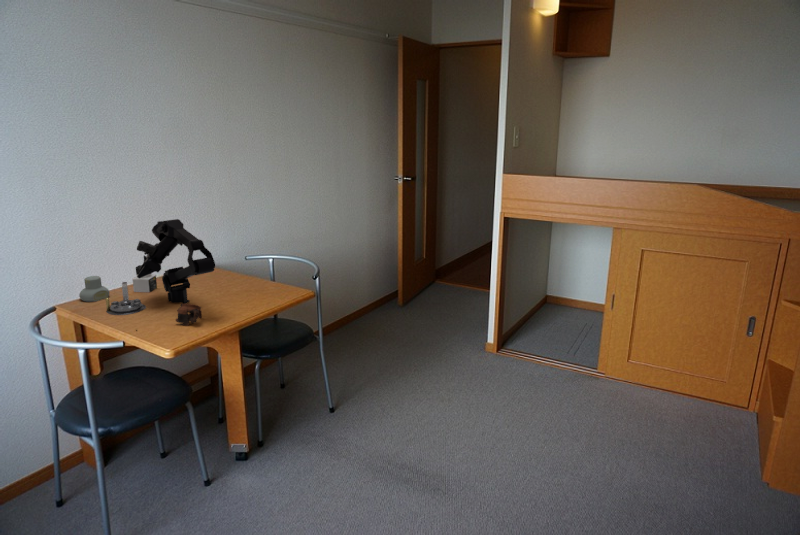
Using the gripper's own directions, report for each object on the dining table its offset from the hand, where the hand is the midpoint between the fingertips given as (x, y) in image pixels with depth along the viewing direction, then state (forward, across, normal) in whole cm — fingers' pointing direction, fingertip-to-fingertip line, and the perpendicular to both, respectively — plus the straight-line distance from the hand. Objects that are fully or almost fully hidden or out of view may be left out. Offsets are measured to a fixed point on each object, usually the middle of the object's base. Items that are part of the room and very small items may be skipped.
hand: (138, 276), depth 222 cm
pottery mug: (-3, +26, +21) cm, 34 cm away
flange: (+13, +6, +5) cm, 15 cm away
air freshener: (+21, -14, -3) cm, 25 cm away
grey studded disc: (+11, +4, +4) cm, 13 cm away
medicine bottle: (+8, -19, +10) cm, 23 cm away
